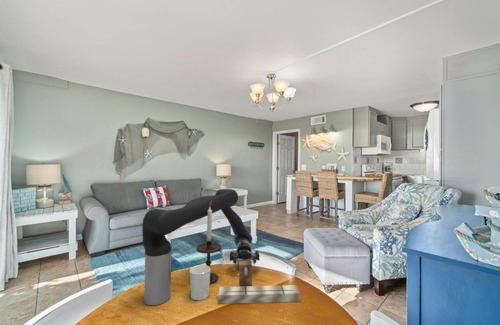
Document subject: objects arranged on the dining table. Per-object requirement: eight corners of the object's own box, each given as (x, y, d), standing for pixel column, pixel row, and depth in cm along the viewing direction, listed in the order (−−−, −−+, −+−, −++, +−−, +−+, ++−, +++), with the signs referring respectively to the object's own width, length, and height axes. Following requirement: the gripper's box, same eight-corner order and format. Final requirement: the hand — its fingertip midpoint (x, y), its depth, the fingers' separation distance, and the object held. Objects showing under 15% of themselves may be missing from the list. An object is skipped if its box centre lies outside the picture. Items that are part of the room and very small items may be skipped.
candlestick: (222, 274, 104) (224, 199, 105) (217, 286, 93) (219, 202, 94) (200, 273, 105) (202, 198, 106) (191, 284, 94) (194, 201, 95)
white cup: (206, 288, 92) (206, 263, 92) (213, 297, 85) (213, 270, 85) (186, 293, 88) (187, 267, 88) (192, 303, 81) (193, 275, 81)
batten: (218, 303, 81) (218, 295, 81) (219, 294, 87) (219, 286, 87) (300, 301, 82) (300, 293, 83) (296, 292, 88) (295, 284, 88)
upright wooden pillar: (239, 301, 83) (239, 270, 83) (239, 288, 92) (239, 261, 92) (252, 300, 83) (252, 270, 83) (251, 288, 92) (251, 260, 92)
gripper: (230, 242, 117) (229, 253, 101) (257, 241, 118) (260, 253, 102) (230, 256, 117) (229, 270, 101) (257, 256, 118) (260, 270, 102)
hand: (244, 262), depth 101 cm, fingers open, 8 cm apart
